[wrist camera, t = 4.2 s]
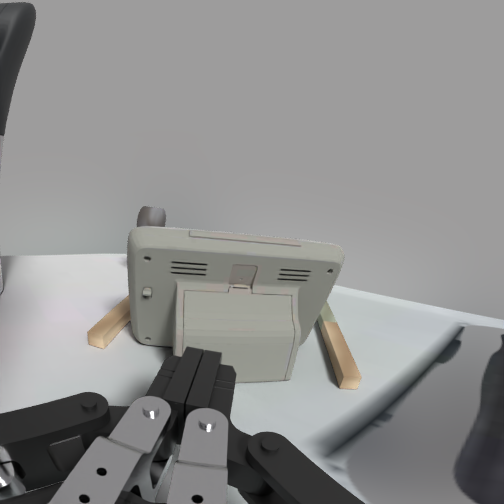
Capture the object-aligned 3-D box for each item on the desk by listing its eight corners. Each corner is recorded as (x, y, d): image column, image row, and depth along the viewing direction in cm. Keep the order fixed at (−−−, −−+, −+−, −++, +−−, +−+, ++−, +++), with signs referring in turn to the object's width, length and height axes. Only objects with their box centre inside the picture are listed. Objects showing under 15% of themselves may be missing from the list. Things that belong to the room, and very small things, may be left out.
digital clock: (307, 339, 29) (330, 234, 27) (330, 396, 20) (371, 261, 18) (144, 319, 28) (149, 210, 26) (113, 372, 19) (108, 227, 17)
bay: (68, 337, 22) (61, 225, 19) (147, 271, 41) (151, 203, 39) (357, 389, 21) (394, 275, 19) (319, 298, 41) (333, 229, 38)
